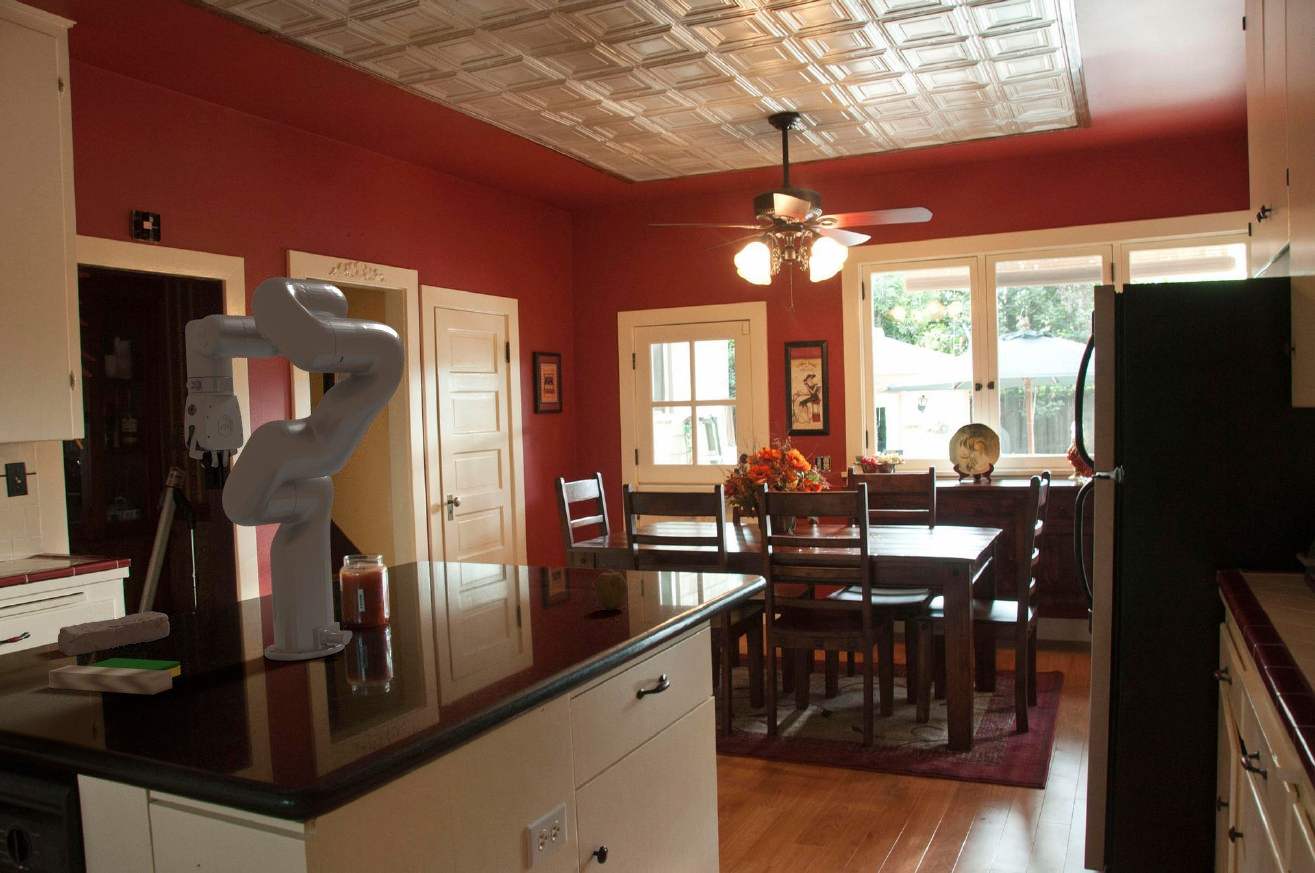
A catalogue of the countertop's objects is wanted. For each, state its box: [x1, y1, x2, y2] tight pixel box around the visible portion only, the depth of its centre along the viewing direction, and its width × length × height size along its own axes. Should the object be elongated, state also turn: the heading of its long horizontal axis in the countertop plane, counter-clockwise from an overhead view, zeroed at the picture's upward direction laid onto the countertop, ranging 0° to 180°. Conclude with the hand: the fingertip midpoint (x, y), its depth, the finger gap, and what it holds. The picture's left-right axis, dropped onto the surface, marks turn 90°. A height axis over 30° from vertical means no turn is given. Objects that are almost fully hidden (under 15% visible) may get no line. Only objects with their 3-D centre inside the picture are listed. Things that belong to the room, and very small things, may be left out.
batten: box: [48, 664, 173, 696], centre depth 145 cm, size 20×4×2 cm, turn 72°
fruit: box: [594, 568, 628, 612], centre depth 187 cm, size 6×6×8 cm
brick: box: [57, 610, 170, 657], centre depth 176 cm, size 17×8×5 cm, turn 136°
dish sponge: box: [87, 657, 182, 678], centre depth 151 cm, size 7×14×2 cm, turn 71°
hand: (215, 488), depth 177 cm, fingers closed
